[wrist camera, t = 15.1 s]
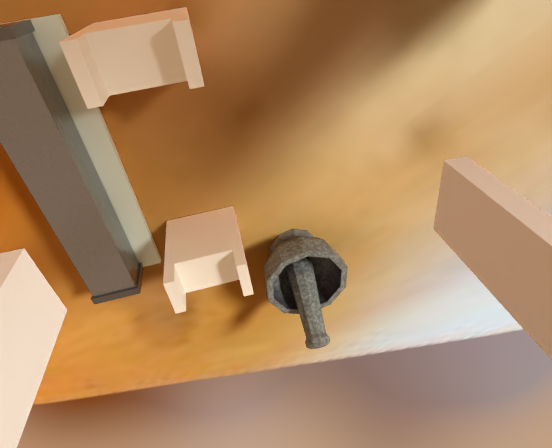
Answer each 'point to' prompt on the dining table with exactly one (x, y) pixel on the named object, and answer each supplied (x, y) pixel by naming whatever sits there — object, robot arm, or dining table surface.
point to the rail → (61, 168)
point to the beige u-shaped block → (203, 255)
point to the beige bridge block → (133, 55)
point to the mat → (96, 140)
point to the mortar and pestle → (304, 280)
